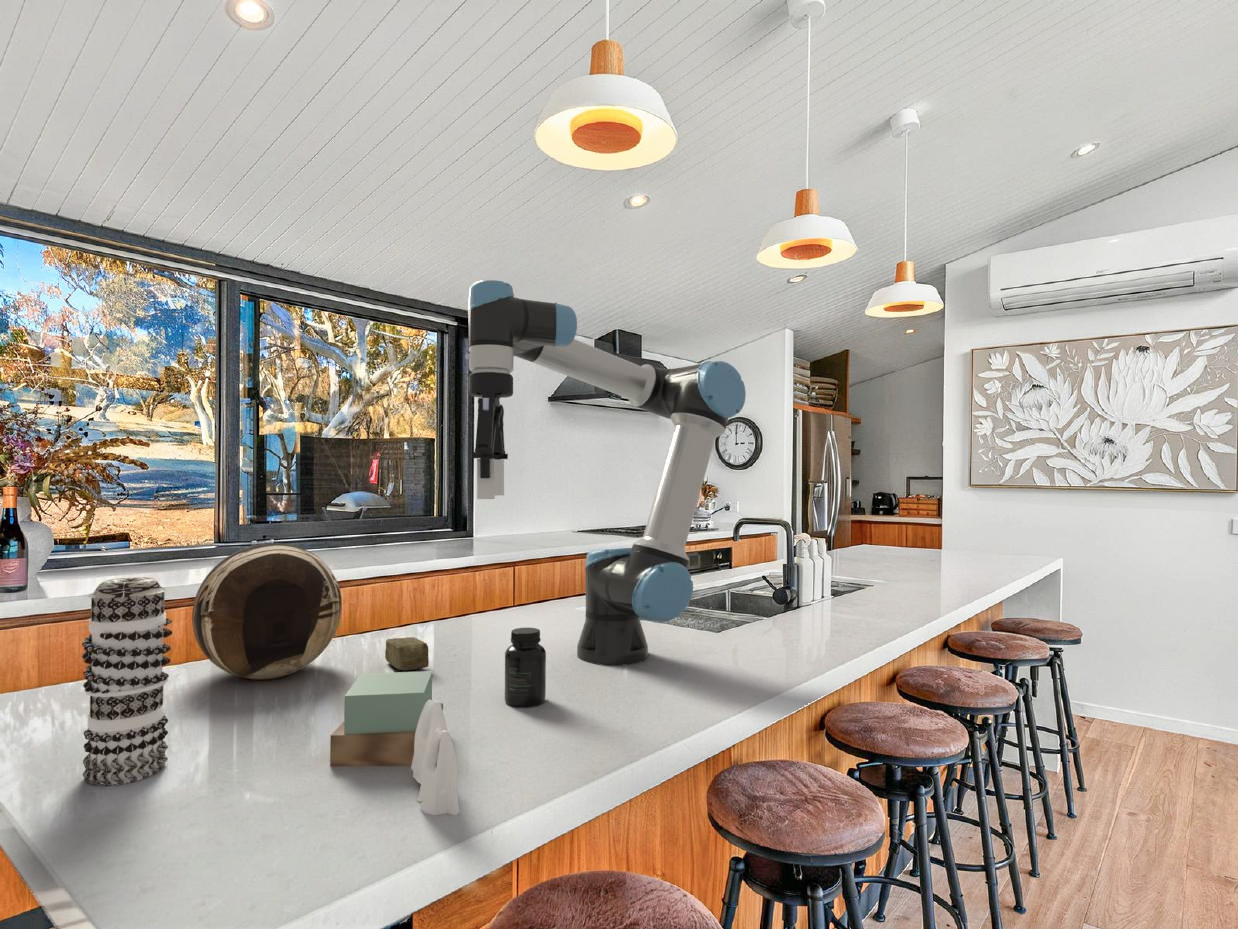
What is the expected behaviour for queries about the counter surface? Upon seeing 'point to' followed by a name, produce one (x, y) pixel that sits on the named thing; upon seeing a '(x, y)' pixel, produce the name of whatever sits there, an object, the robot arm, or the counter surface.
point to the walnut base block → (372, 748)
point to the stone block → (407, 653)
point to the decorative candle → (126, 681)
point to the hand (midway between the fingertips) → (491, 497)
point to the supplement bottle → (525, 669)
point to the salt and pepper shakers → (435, 762)
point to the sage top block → (386, 702)
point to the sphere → (266, 611)
